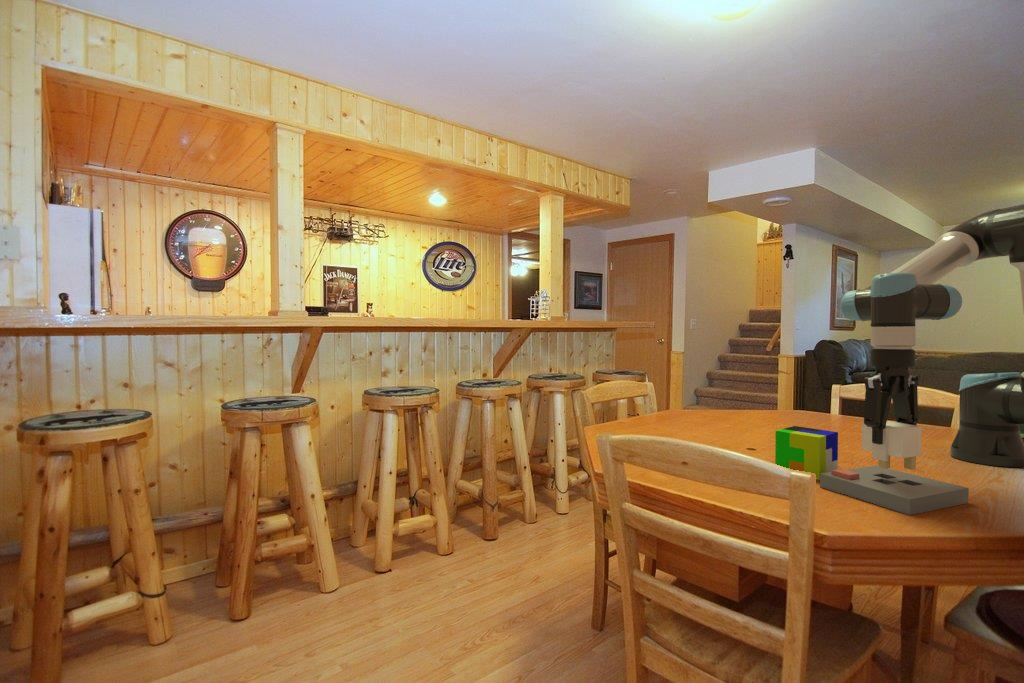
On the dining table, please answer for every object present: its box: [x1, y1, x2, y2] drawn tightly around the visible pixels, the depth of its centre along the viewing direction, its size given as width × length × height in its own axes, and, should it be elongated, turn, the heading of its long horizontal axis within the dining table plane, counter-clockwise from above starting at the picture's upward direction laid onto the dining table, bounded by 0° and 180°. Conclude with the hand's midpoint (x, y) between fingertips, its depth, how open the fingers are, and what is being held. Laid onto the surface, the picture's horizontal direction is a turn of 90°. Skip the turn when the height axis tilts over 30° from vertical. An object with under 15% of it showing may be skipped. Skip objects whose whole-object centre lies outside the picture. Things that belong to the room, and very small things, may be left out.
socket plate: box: [819, 465, 970, 516], centre depth 105 cm, size 18×18×4 cm
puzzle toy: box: [774, 425, 839, 481], centre depth 122 cm, size 10×10×10 cm
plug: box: [861, 420, 923, 471], centre depth 105 cm, size 6×8×9 cm
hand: (890, 457), depth 105 cm, fingers closed on plug, 6 cm apart
